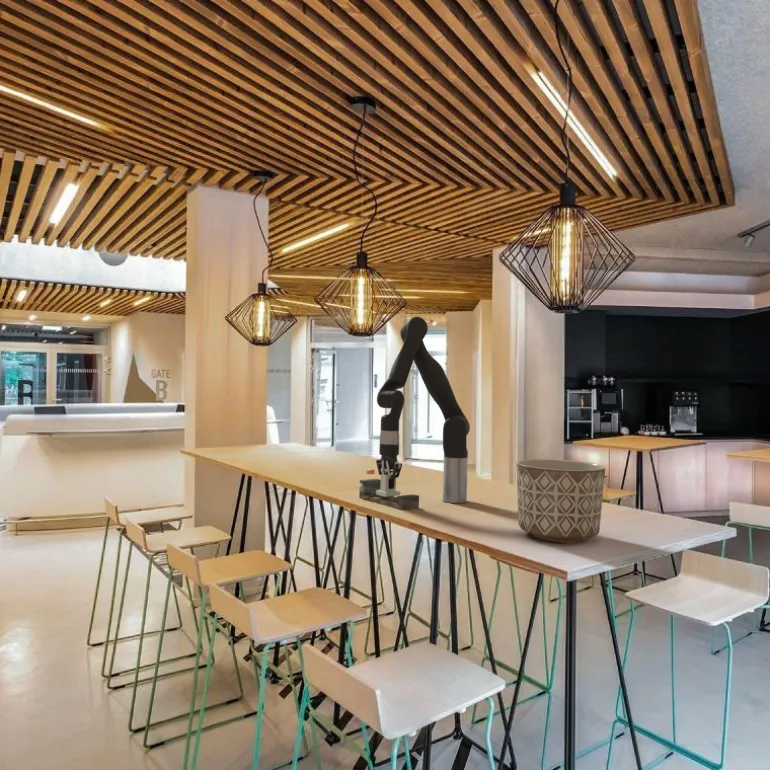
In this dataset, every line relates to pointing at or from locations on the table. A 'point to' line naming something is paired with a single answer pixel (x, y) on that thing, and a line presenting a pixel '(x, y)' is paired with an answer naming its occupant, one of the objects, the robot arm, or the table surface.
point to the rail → (399, 502)
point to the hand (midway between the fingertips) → (388, 487)
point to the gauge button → (370, 471)
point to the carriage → (384, 487)
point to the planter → (560, 498)
